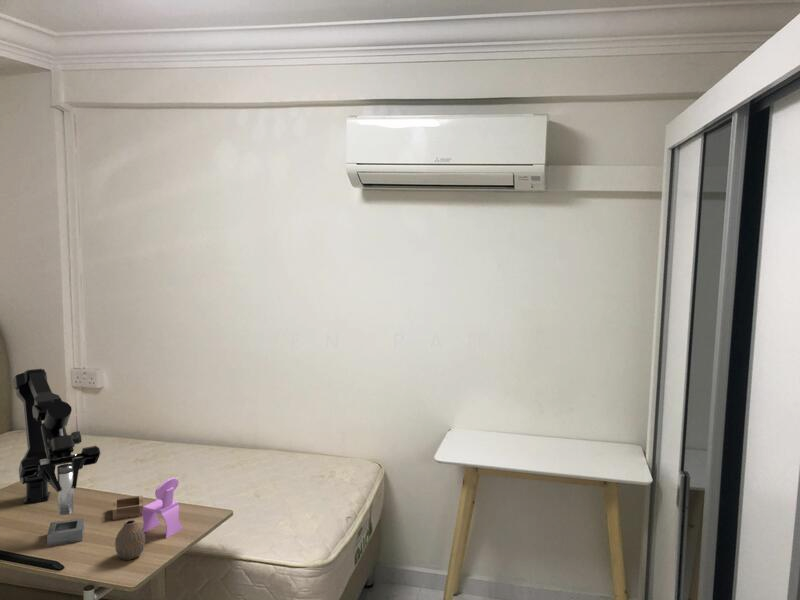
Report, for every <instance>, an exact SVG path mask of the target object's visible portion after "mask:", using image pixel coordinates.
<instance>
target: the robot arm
mask: <svg viewBox="0 0 800 600" xmlns="http://www.w3.org/2000/svg"><path fill="white" fill-rule="evenodd" d="M12 386H13V387H12V388H13V389H14V390H15V393H16V397H17V398H18V399H19V400H20V401H21V402H22V404H23V414H24V423H25V433H26V443H27V445H26V446H27V449H26V452H25V454H24V456H23V458H22V459H21V461H20V464H19V468H18V474H19V481H20V483H21V484H22V485H25V488H26V489H25V491H26V494H25V497H24V500H23V504H31V503H37V502H47V501H49V499H50V496H51V491H49V485H50V486H51V487H52V488H53V489H54V491H55V492H57V493H58V492H59V490H60V489H59V484H58V477H57V476H56V467H57V466H59V465H63V464H72V465H73V489H76V488H77V485H78V476H79V471H80V470H81V469H83V468H84V467H86V466H91V465H95V464H97V462H98V461H99V458H100V456H101V449H100V447H99V446H97V445H93V446H92V445H91V446H87V447H86V446H85V447H82V449H81V452H80V453H75V454H72V453H74V450H75V449H74V448H75V445H80V444H81V443H82V435H81V432H80V430H78V431H77V430H76V431H72V432H71V434H68V433H67V428H66V427H67V425H68V423H69V420H70V417H71V413H72V410H73V409H72V406H71V405H70V404H69V403H68V402H67V401H63V400H62V398H61V396H60V395H59V394H56V393H54V392H53V391H52V390H51V386H50V385H49V382H48V375H47V372H46V371H45V369H44V368H34V369H27V370H24V372H21V373H17V374H16V375H14V377H13V379H12ZM48 484H49V485H48Z"/></svg>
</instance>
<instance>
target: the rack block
mask: <svg viewBox="0 0 800 600" xmlns="http://www.w3.org/2000/svg"><path fill="white" fill-rule="evenodd" d="M143 497H144V496H143V495H138V496H137V495H136V496H128V497H122V498H115V499H113V500H112V521H115V520H121V519H122V518H123V519H129V518H128V517H130V518H135V516H137V517H143V515H142V510H143V506H144V498H143Z"/></svg>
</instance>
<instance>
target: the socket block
mask: <svg viewBox="0 0 800 600" xmlns="http://www.w3.org/2000/svg"><path fill="white" fill-rule="evenodd" d="M84 532H85V517H79V518H72V519H66V520H65V519H64V520H59V521H58V520H57V521H53V522H52V521H51V522H50V523H49V528H48V530H47V533H46V534H47V535H46V539H47V540H46V542H47V544H46V545H47V547H51V546H58V545H65V544H69V542H71V543H77V542H82V541H83V540H84V539H83V538H84V534H85V533H84ZM64 543H65V544H64Z"/></svg>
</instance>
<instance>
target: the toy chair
mask: <svg viewBox="0 0 800 600" xmlns="http://www.w3.org/2000/svg"><path fill="white" fill-rule="evenodd" d="M178 486H179V479H178V478H177V477H170V478H169V479H166V480H165V481H163V482H162V483H160V484H159V485H158V486H157V487H156V489H155V492H154V494H155V497H156V500H154V501H152V502H151V503H148V504H146V505H143V510H142V515H143V516H142V519H143V520H142V523H143V525H142V526H143V527H142V530H143V532H145V533H146V531H147V532H149V531H150V530H152V529H154V528H156V527H158V526H160V525H161V521H160V520H159V519H158V515H157V514H159V515H160V516H161V518H162V519H163V521H164V523H165V539H168V538H170V537H171V535H172V536H173V535H176V532H177V533H178V531H179V532H180V531H183V529H184V528H183V526H182V524H181V522H180V518H179V517H180V516H179V515H180V506H179V501H176V500H174V492H175V490H176V489H177V488H178ZM159 524H160V525H159ZM157 525H158V526H157ZM155 526H156V527H155ZM153 527H154V528H153ZM151 528H152V529H151ZM149 529H150V530H149ZM148 530H149V531H148ZM169 536H170V537H169Z"/></svg>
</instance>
